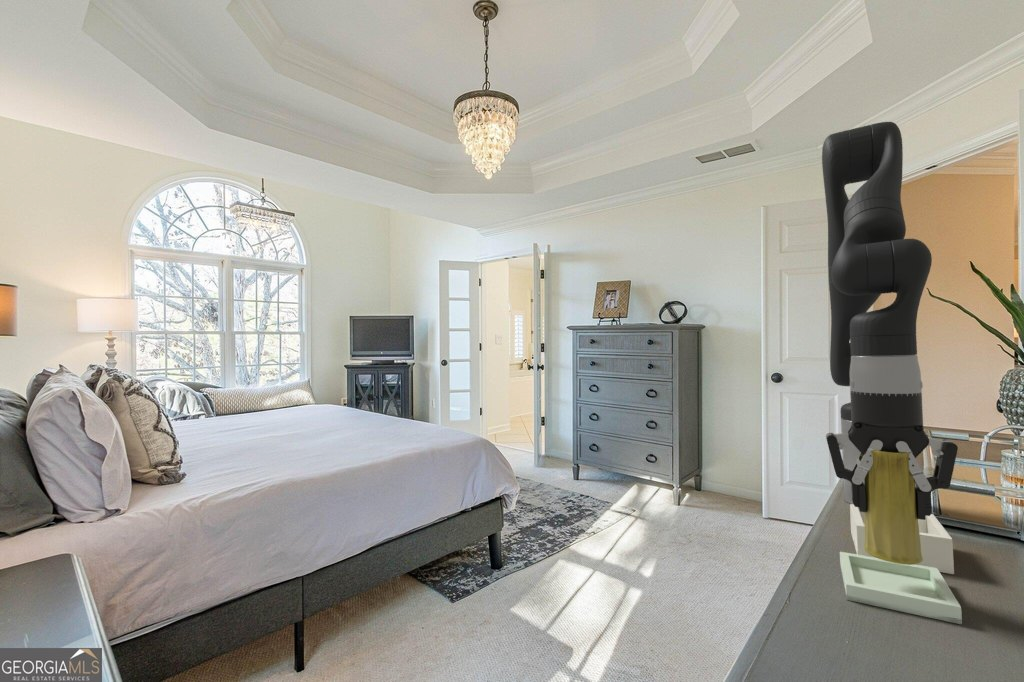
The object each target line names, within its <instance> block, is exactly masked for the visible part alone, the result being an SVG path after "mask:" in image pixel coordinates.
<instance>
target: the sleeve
mask: <svg viewBox="0 0 1024 682" xmlns="http://www.w3.org/2000/svg"><path fill="white" fill-rule="evenodd" d="M849 511H850V513H849V516H850V532H851V533H850V534H851V537H852V542H853V544H854V549H855V553H856V554H857V555H863V556H869V557H874V556H872V555H870V554H868V553H867V552H866V551H865V550H864V543H865V524H864V519H865V512H860V511H859V509H858V507H855V506H854V504H850V503H849ZM925 517H926V519H925V520H921V519H918V525H919V534H920V544H921V554H922V558H923V560H922V562H921V563H918V564H916V565H922V566H928V567H933V568H937V569H938V570H939V572H940V573H944V574H948V575H955V567H954V566H955V565H954V545H953V543H954V542H953V538H952V536H950V533H948V531H947V530H946V529H945V527H944V526H943V525H942V524H941V523H940V521H939V520H938V518H937V517H936V516H935V515H934V514H933V513H931V515H930V516H925ZM875 558H876V557H875Z"/></svg>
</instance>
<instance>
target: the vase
mask: <svg viewBox="0 0 1024 682" xmlns="http://www.w3.org/2000/svg"><path fill="white" fill-rule="evenodd" d="M871 453H872V455H873V465H872V467H871V469H870V470H869V471H868V473H867V474H866V476H865V478H864V481H865V498H866V512H865V519H864V524H865V543H864V550H865V551H866V552H867V553H868V554H870V555H872V556H874V557H876V558H878V559H881V560H884V561H888V562H892V563H897V564H905V565H914V564H918V563H921V562H922V560H923V558H922V554H921V544H920V534H919V525H918V517H917V505H916V492H915V487H916V483H915V480H914V478H913V476H912V474H911V472H910V470H909V460H910V458H909V455H910V454H909V453H895V452H883V451H876V450H873V451H871ZM912 454H913V452H912ZM872 455H870V457H871V456H872ZM866 462H868V461H866ZM912 466H913V465H912Z"/></svg>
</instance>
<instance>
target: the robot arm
mask: <svg viewBox="0 0 1024 682" xmlns="http://www.w3.org/2000/svg"><path fill="white" fill-rule="evenodd" d="M821 149H822V150H821V166H822V167H821V169H822V177H823V186H824V195H825V205H826V217H827V268H828V269H827V272H828V286H829V287H828V290H829V301H830V319H831V320H830V321H831V322H830V323H831V325H830V346H829V347H830V348H829V349H830V351H829V370H830V376H831V380H832V381H833V382H834V384H836V385H837V386H840V387H849V388H850V390H849V392H850V402H848V403H847V402H846V403H844V404H842V405H841V407H840V427H841V428H840V429H841V431H840V432H841V433H833V432H828V433H826V435H825V439H826V444H827V446H828V450H829V454H830V458H831V461H832V464H833V468H834V472H835V476H836V478H838V479H842V480H843V498H844V500H845V502H846V503H848V504H849V505H850V504H854V506H855V507H858V509H859V511H860V512H866V498H865V481H864V478H865V476H866V474H867V473H868V471H869V470H870V469H871V467H872V465H873V455H872V453H871V451H873V450H876V451H883V452H895V453H909V454H910V455H909V458H910V460H909V470H910V472H911V474H912V476H913V478H914V480H915V492H916V505H917V517H918V519H921V520H925V519H926V517H925V516H930V515H931V514H933V513H932V512H933V511H932V492H933V491H934V490H937V489H944V490H945V489H949V488H950V486H951V482H952V478H953V475H954V474H953V473H954V470H955V469H954V468H955V465H956V459H957V454H958V448H959V447H958V445H957V443H955V442H953V441H951V440H950V439H946V438H944V439H942V440H941V439H938V438H937V439H936V438H932V437H929V436H928V435H927V434H926V431H925V430H924V417H923V415H924V413H923V393H922V392H923V391H922V389H923V382H922V376H921V375H922V372H921V367H920V363H919V358H918V344H917V320H918V311H919V306H920V303H921V298H922V296H923V292H924V289H925V287H926V284H927V280H928V278H929V275H930V272H931V268H932V260H933V258H932V253H931V250H930V248H929V247H928V246H927V244H925V243H924V242H923V241H922V240H919V239H918V238H905V237H906V231H907V227H906V220H905V217H904V211H903V206H902V200H901V199H902V198H901V196H902V195H901V194H902V193H901V192H902V185H903V184H902V183H903V163H904V162H903V160H904V158H903V156H904V153H903V152H904V150H903V149H904V147H903V138H902V133H901V130H900V127H899V126H898V125H897V123H895V122H893V121H881V122H876V123H872V124H871V123H870V124H868V125H864V126H863V125H862V126H860V127H855V128H851V129H845V130H843V131H839V132H835V133H832V134H829V135H828V136H827V137H826V138H825V139H824V141H823V144H822V148H821ZM862 182H863V184H862V185H861V186H860V187H859V188H858V189H857V190H856V191H855V192H854V193H853V194H852V196H851V197H850V198H849V197H848V194H847V192H846V189H845V187H846V185H851V184H855V183H862ZM892 293H893V294H896V297H895V300H894V301H893V302H892V303H891V304H889V305H888V306H886V307H883V308H880V309H876V310H872V311H871V310H870V311H868V310H869V309H870V308H871V307H872V306H873V305H874V304H875V303H876V301H877V300H878V299H879V297H880V296H881V295H882V294H892ZM927 447H930V448H931V452H932V453H933V455H935V456H936V461H935V465H934V470H933V475H932V476H927V477H926V475H925V474H924V471H923V470H922V467H921V465H920V464H919V462H918V461H917V458H918V457H919V455H920V454H921V453H922V452H923V451H924V450H925V449H926V448H927ZM841 450H842V453H841ZM912 452H913V454H912ZM870 455H872V456H871V457H870ZM866 461H868V462H866ZM912 465H913V466H912Z"/></svg>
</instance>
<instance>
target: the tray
mask: <svg viewBox="0 0 1024 682" xmlns="http://www.w3.org/2000/svg"><path fill="white" fill-rule="evenodd" d="M839 566H840V570H841V576H842V582H843V586H844V591H845V596H846V600H847V601H851V602H856V603H859V604H865V605H870V606H874V607H879V608H883V609H887V610H893V611H898V612H902V613H905V614H910V615H917V616H920V617H926V618H929V619H935V620H939V621H945V622H949V623H952V624H959V625H963V618H962V617H963V616H962V614H963V613H962V607H961V605H960V603H959V601H958V599H956V597H955V594H954V593H953V592H952V590H951V588H950V587H949V584H948V583H947V581H946V580H945V579H944V577H943V575H942V574H941V572H939V570H938V569H937V568H933V567H928V566H922V565H916V564H914V565H905V564H897V563H892V562H888V561H884V560H881V559H878V558H875V557H869V556H863V555H857V553H850V552H845V551H839Z"/></svg>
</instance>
